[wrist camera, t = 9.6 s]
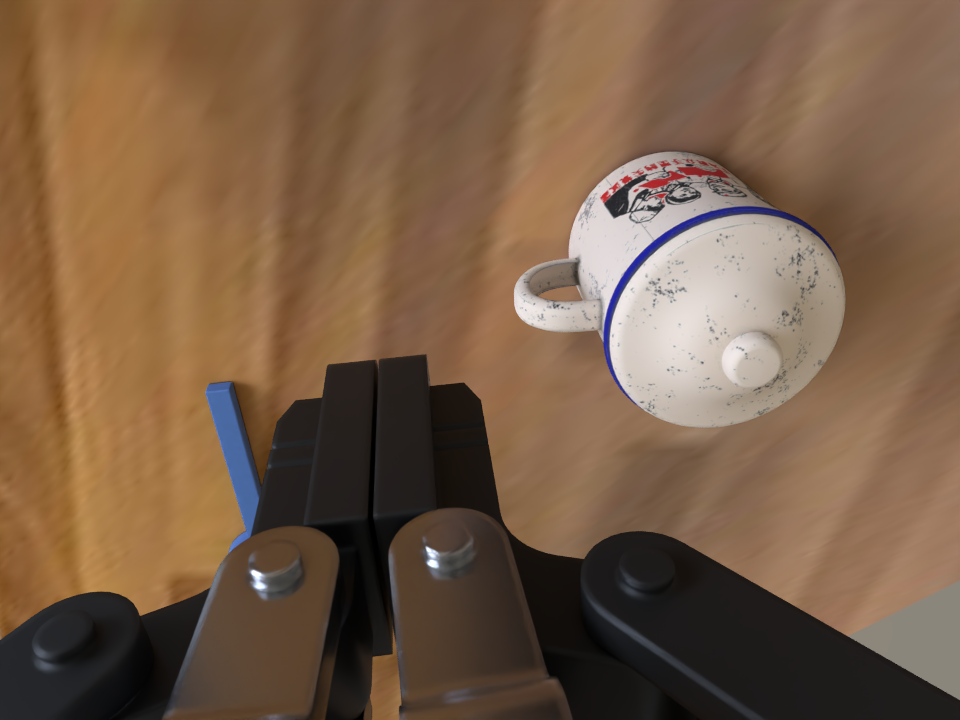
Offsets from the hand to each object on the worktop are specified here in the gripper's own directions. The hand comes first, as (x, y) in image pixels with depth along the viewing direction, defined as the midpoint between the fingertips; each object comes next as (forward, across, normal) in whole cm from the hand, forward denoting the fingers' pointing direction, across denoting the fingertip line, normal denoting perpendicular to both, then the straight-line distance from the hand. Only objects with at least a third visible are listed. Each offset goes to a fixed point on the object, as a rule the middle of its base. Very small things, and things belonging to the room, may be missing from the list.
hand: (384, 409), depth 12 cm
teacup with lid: (+23, -10, +7) cm, 26 cm away
